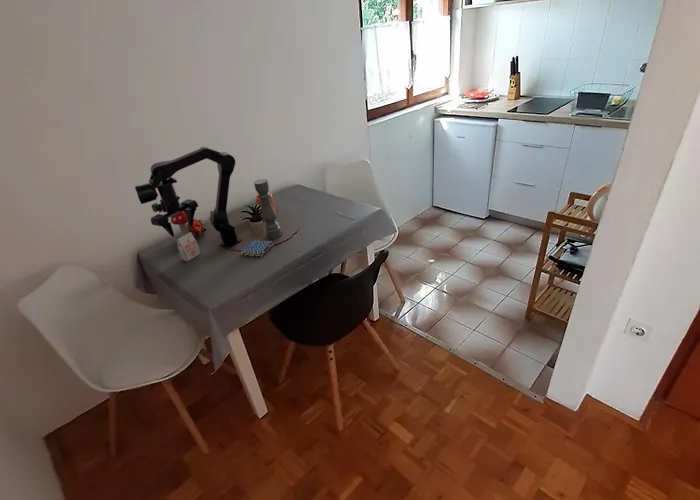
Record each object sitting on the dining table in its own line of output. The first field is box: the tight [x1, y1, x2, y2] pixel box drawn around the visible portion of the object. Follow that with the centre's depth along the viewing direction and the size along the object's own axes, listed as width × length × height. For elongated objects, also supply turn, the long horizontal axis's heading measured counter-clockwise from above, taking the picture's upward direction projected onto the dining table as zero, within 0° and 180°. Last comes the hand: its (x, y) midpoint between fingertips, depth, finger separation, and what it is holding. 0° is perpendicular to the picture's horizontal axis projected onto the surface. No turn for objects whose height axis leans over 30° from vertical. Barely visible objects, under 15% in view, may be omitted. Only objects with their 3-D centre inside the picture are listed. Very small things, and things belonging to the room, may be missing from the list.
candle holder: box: [253, 178, 282, 240], centre depth 175 cm, size 6×6×25 cm
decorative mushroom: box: [170, 211, 194, 238], centre depth 187 cm, size 10×9×15 cm
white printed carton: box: [176, 233, 202, 263], centre depth 172 cm, size 4×7×10 cm, turn 143°
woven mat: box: [239, 239, 274, 258], centre depth 171 cm, size 10×11×2 cm
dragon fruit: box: [187, 218, 207, 240], centre depth 190 cm, size 8×8×12 cm
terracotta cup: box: [254, 192, 277, 213], centre depth 202 cm, size 8×8×9 cm
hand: (182, 231), depth 169 cm, fingers open, 9 cm apart
